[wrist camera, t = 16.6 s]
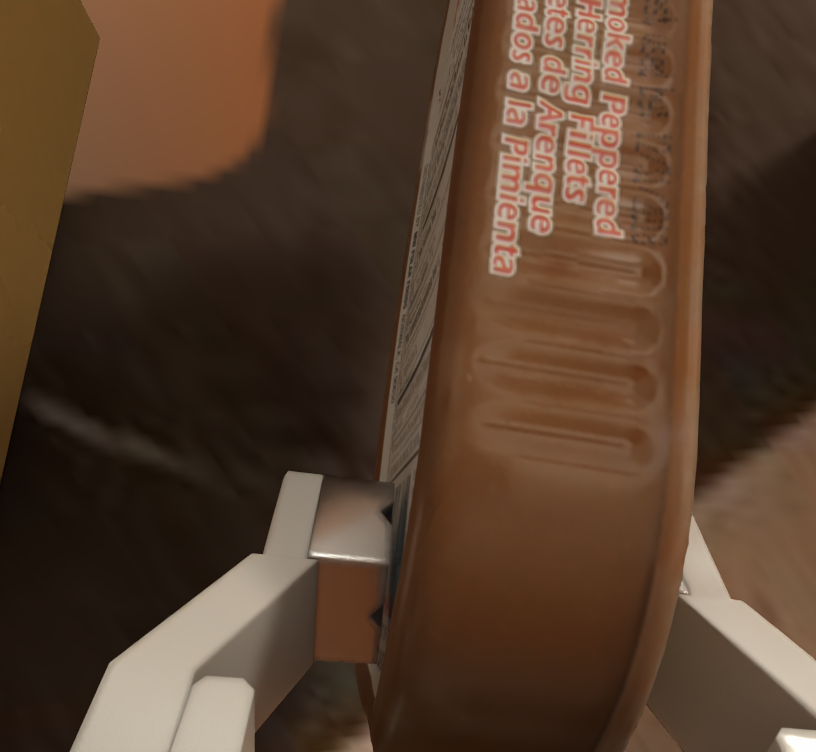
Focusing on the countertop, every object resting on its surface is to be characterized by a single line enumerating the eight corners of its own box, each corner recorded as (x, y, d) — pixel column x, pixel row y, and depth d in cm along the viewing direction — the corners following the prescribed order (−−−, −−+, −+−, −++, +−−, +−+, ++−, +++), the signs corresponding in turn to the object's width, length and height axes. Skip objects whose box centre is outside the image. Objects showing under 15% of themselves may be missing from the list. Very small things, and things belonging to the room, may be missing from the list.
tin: (475, 723, 14) (762, 956, 6) (308, 705, 13) (367, 929, 5) (542, 48, 18) (770, -373, 10) (415, 17, 17) (542, -454, 9)
